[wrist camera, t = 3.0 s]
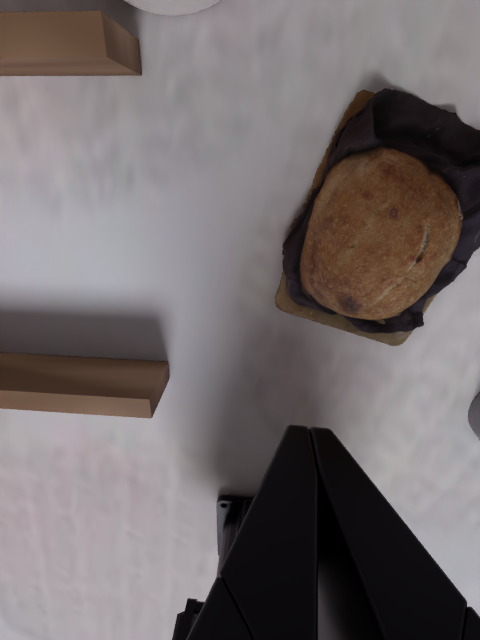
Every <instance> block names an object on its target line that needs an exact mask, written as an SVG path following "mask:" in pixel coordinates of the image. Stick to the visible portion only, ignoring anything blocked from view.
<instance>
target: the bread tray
mask: <svg viewBox="0 0 480 640" xmlns="http://www.w3.org/2000/svg"><path fill="white" fill-rule="evenodd" d="M115 75H142V72H141V61H140V50H139V40H138V39H137V38H136V37H134V36H133V35H132V34H131V33H129V32H128V31H127V30H125V29H124V28H123V27H122V26H120V25H119V24H118V23H116V22H115V21H114V20H113V19H111V18H110V17H109V16H107V15H106V14H105V13H103V12H102V11H47V12H0V76H115ZM168 381H169V369H168V362H164V361H146V360H127V359H109V358H91V357H72V356H54V355H36V354H18V353H0V408H2V409H17V410H33V411H48V412H63V413H78V414H93V415H108V416H123V417H138V418H152V417H153V414H154V412H155V410H156V408H157V405H158V403H159V401H160V399H161V396H162V394H163V392H164V390H165V388H166V385H167V383H168Z"/></svg>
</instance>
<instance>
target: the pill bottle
mask: <svg viewBox="0 0 480 640" xmlns="http://www.w3.org/2000/svg"><path fill="white" fill-rule="evenodd" d="M124 1H125V2H127V3H129V4H131V5H132V6H134V7H137V8H139V9H141V10H144V11H147V12H150V13H154V14H158V15H165V16H181V15H188V14H192V13H196V12H199V11H202V10H204V9H207V8H209V7H211V6H213V5H214V4H216V3H218V2H219V1H221V0H124Z"/></svg>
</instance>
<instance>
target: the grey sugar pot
mask: <svg viewBox="0 0 480 640" xmlns="http://www.w3.org/2000/svg"><path fill="white" fill-rule="evenodd" d="M468 421H469V424H470V426H471V428H472V430H473V431H474V433H475V434H476V435H477V437H478V438H479V440H480V393H479V394H478V395H477V396H476V397H475V398H474V400H473V401H472V403H471V405H470V408H469V412H468Z"/></svg>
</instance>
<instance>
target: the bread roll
mask: <svg viewBox="0 0 480 640" xmlns="http://www.w3.org/2000/svg"><path fill="white" fill-rule="evenodd" d="M479 247H480V130H476V129H474V128H472V127H470V126H468V125H466V124H464V123H463V122H461V121H460V119H459V118H458V117H457V115H456V113H451V112H448V111H447V110H443V109H440V108H438V107H436V106H432V105H430V104H428V103H426V102H425V101H423V100H421V99H419V98H417V97H415V96H413V95H411V94H407V93H405V92H401V91H397V90H391V89H386V88H385V89H383V90H382V91H379V92H377V93H374V92H369V91H366V90H362V91H360V92H358V93H357V94H356V96H355V98H354V100H353V101H352V102H351V104H350V105H349V107H348V109H347V110H346V112H345V113H344V116H343V118H342V121H341V122H340V124H339V126H338V128H337V130H336V131H335V135H334V137H333V138H332V142H331V144H330V146H329V148H327V149H326V153H325V156H324V158H323V160H322V163H321V164H320V166H319V168H318V170H317V172H316V175H315V178H314V180H313V185H312V187H311V189H310V191H309V195H308V197H307V201H306V203H304V205H303V211H302V212H301V214H300V216H299V217H298V219H294V221H293V225H292V226H291V228H290V233H289V236H288V237H287V239H286V240H285V242H284V243H283V255H284V258H283V273H282V279H281V282H280V286H279V289H278V292H277V294H276V306H277V307H278V308H279V309H280V310H282V311H284V312H287V313H291V314H294V315H297V316H301V317H304V318H307V319H310V320H312V321H315V322H319V323H321V324H325V325H328V326H331V327H334V328H338V329H341V330H344V331H347V332H350V333H354V334H356V335H359V336H363V337H366V338H369V339H372V340H376V341H379V342H382V343H385V344H388V345H391V346H398V345H401V344H402V343H404V342H405V340H406V339H407V338H408V337H409V335H410V334H411V333H412V331H413V330H414V329H415V328H417V327H421V326H423V325H424V322H423V315H424V313H425V311H426V310H427V308H428V306H429V305H430V303H431V302H432V300H433V298H434V297H435V296H436V295H437V293H439V292H440V291H441V290H442V289H443V288H444V287H446V286H447V285H449V284H450V283H451V282H453V281H454V280H455V278H456V277H457V276H458V275H459V274H460V273H461V272H462V271H463V270H464V269H465V268H466V267H467V263H468V261H469V259H470V257H471V255H472V254H473V252H474V251H476V250H477V249H478V248H479Z"/></svg>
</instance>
